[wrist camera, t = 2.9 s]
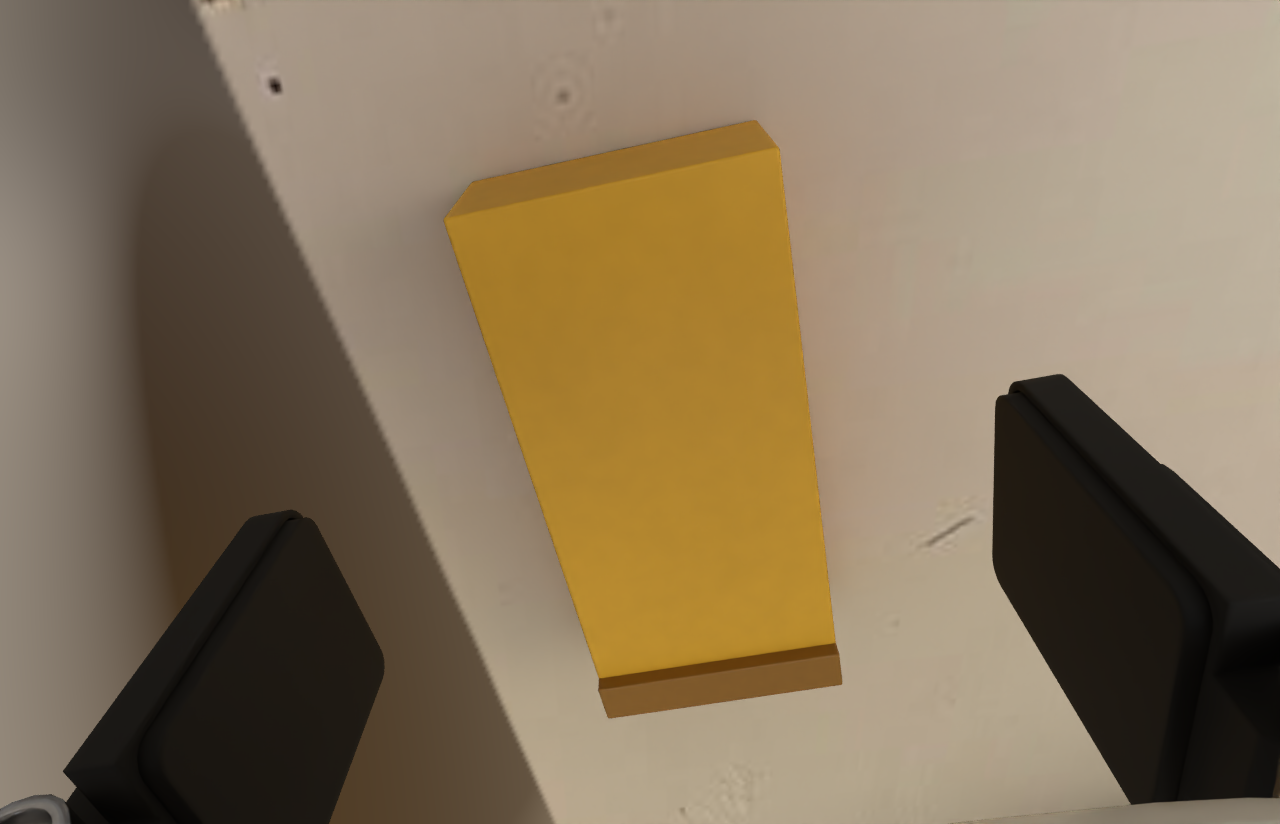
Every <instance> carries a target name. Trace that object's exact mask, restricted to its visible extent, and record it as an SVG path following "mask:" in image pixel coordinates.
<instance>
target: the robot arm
mask: <svg viewBox="0 0 1280 824" xmlns="http://www.w3.org/2000/svg"><path fill="white" fill-rule="evenodd" d="M992 557H993V565H994V570H995V573H996V576H997V579H998V581H999V583H1000V585H1001V587H1002V589H1003V590H1004V592H1005V594H1006V595H1007V597H1008V599H1009V600H1010V602H1011V604H1012V605H1013V607H1014V609H1015V611H1016V612H1017V614H1018V616H1019V617H1020V619H1021V621H1022V622H1023V624H1024V626H1025V627H1026V629H1027V631H1028V632H1029V634H1030V636H1031V637H1032V639H1033V641H1034V642H1035V644H1036V646H1037V647H1038V649H1039V651H1040V652H1041V654H1042V656H1043V658H1044V659H1045V661H1046V663H1047V664H1048V666H1049V668H1050V669H1051V671H1052V673H1053V674H1054V676H1055V678H1056V679H1057V681H1058V683H1059V684H1060V686H1061V688H1062V689H1063V691H1064V693H1065V694H1066V696H1067V698H1068V699H1069V701H1070V703H1071V704H1072V706H1073V708H1074V710H1075V711H1076V713H1077V715H1078V716H1079V718H1080V720H1081V721H1082V723H1083V725H1084V726H1085V728H1086V730H1087V731H1088V733H1089V735H1090V736H1091V738H1092V740H1093V741H1094V743H1095V745H1096V746H1097V748H1098V750H1099V751H1100V753H1101V755H1102V757H1103V758H1104V760H1105V762H1106V763H1107V765H1108V767H1109V768H1110V770H1111V772H1112V773H1113V775H1114V777H1115V778H1116V780H1117V782H1118V783H1119V785H1120V787H1121V788H1122V790H1123V792H1124V793H1125V795H1126V797H1127V798H1128V800H1129V802H1130V803H1131V805H1127V806H1117V807H1106V808H1096V809H1086V810H1076V811H1066V812H1056V813H1046V814H1036V815H1025V816H1015V817H1005V818H995V819H985V820H976V821H968V822H959V823H950V824H1280V569H1279V568H1278V567H1277V566H1276V565H1275V564H1274V563H1273V562H1272V561H1271V560H1270V559H1269V558H1267V557H1266V556H1265V555H1264V554H1263V553H1262V552H1261V551H1260V550H1259V549H1258V548H1257V547H1256V546H1254V545H1253V544H1252V543H1251V542H1250V541H1249V540H1248V539H1247V538H1246V537H1245V536H1244V535H1242V534H1241V533H1240V532H1239V531H1238V530H1237V529H1236V528H1235V527H1234V526H1233V525H1232V524H1230V523H1229V522H1228V521H1227V520H1226V519H1225V518H1224V517H1223V516H1222V515H1221V514H1220V513H1218V512H1217V511H1216V510H1215V509H1214V508H1213V507H1212V506H1211V505H1210V504H1209V503H1208V502H1207V501H1205V500H1204V499H1203V498H1202V497H1201V496H1200V495H1199V494H1198V493H1197V492H1196V491H1195V490H1193V489H1192V488H1191V487H1190V486H1189V485H1188V484H1187V483H1186V482H1185V481H1184V480H1183V479H1181V478H1180V477H1179V476H1178V475H1177V474H1176V473H1175V472H1174V471H1172V470H1171V469H1169V468H1168V467H1166V466H1165V465H1164V464H1160V463H1159V462H1158V461H1157V460H1156V459H1155V458H1153V457H1152V456H1151V455H1150V454H1149V453H1148V452H1147V451H1146V450H1145V449H1144V448H1143V447H1142V446H1141V445H1139V444H1138V443H1137V442H1136V441H1135V440H1134V439H1133V438H1132V437H1131V436H1130V435H1129V434H1128V433H1127V432H1125V431H1124V430H1123V429H1122V428H1121V427H1120V426H1119V425H1118V424H1117V423H1116V422H1115V421H1114V420H1112V419H1111V418H1110V417H1109V416H1108V415H1107V414H1106V413H1105V412H1104V411H1103V410H1102V409H1101V408H1100V407H1098V406H1097V405H1096V404H1095V403H1094V402H1093V401H1092V400H1091V399H1090V398H1089V397H1088V396H1087V395H1086V394H1084V393H1083V392H1082V391H1081V390H1080V389H1079V388H1078V387H1077V386H1076V385H1075V384H1074V383H1073V382H1072V381H1070V380H1069V379H1068V378H1067V377H1066V376H1064V375H1062V374H1056V375H1050V376H1045V377H1039V378H1033V379H1028V380H1022V381H1017V382H1014V383H1012V384H1011V386H1010V389H1009V392H1008V394H1007V395H1002V396H999V397H998V398H997V400H996V406H995V446H994V497H993V548H992ZM383 675H384V657H383V653H382V651H381V649H380V647H379V645H378V643H377V641H376V639H375V637H374V635H373V633H372V631H371V629H370V627H369V625H368V623H367V622H366V620H365V618H364V616H363V614H362V612H361V610H360V608H359V606H358V604H357V602H356V600H355V599H354V596H353V594H352V593H351V591H350V589H349V587H348V585H347V583H346V581H345V579H344V577H343V575H342V573H341V571H340V569H339V567H338V565H337V564H336V562H335V560H334V558H333V556H332V554H331V552H330V550H329V548H328V546H327V544H326V542H325V540H324V538H323V537H322V535H321V533H320V531H319V529H318V527H317V525H316V524H315V522H314V521H313V520H312V519H310V518H303V516H302V515H301V514H300V513H298V512H297V511H294V510H287V511H281V512H276V513H270V514H264V515H258V516H254V517H251V518H250V519H248V520H247V521H246V522H245V524H244V525H243V526H242V528H241V529H240V530H239V532H238V533H237V534H236V536H235V537H234V539H233V540H232V541H231V543H230V544H229V545H228V547H227V548H226V549H225V551H224V552H223V554H222V555H221V556H220V558H219V559H218V560H217V562H216V563H215V564H214V566H213V567H212V569H211V570H210V571H209V573H208V574H207V576H206V577H205V578H204V580H203V581H202V582H201V584H200V585H199V586H198V588H197V589H196V590H195V592H194V593H193V595H192V596H191V597H190V599H189V600H188V601H187V603H186V604H185V605H184V607H183V608H182V609H181V611H180V612H179V614H178V615H177V616H176V618H175V619H174V620H173V622H172V623H171V624H170V626H169V627H168V629H167V630H166V631H165V633H164V634H163V635H162V637H161V638H160V639H159V641H158V642H157V644H156V645H155V646H154V648H153V649H152V650H151V652H150V653H149V655H148V656H147V657H146V659H145V660H144V661H143V663H142V664H141V665H140V667H139V668H138V669H137V671H136V672H135V674H134V675H133V676H132V678H131V679H130V681H129V682H128V683H127V685H126V686H125V687H124V689H123V690H122V691H121V693H120V694H119V695H118V697H117V698H116V699H115V701H114V702H113V704H112V705H111V706H110V708H109V709H108V710H107V712H106V713H105V715H104V716H103V717H102V719H101V720H100V721H99V723H98V724H97V725H96V727H95V728H94V730H93V731H92V732H91V734H90V735H89V736H88V738H87V739H86V740H85V742H84V743H83V745H82V746H81V747H80V749H79V750H78V752H77V753H76V754H75V755H74V757H73V758H72V760H71V761H70V762H69V764H68V765H67V766H66V768H65V769H64V770H63V772H64V773H65V775H66V776H67V777H68V778H69V779H70V780H71V781H72V782H73V783H74V785H76V787H77V788H76V789H75V791H74V792H73V793H72V795H71V796H70V798H69V799H68V800H67V802H65V801H64V800H63V799H61V798H58V797H56V796H54V795H52V794H49V795H34V796H31V797H27V798H25V799H21V800H18V801H15V802H12V803H10V804H8V805H6V806H5V807H3V808H1V809H0V824H329V822H330V819H331V816H332V813H333V811H334V808H335V805H336V803H337V800H338V798H339V795H340V792H341V789H342V787H343V784H344V781H345V779H346V776H347V773H348V771H349V768H350V765H351V763H352V760H353V757H354V754H355V752H356V749H357V746H358V743H359V741H360V738H361V735H362V733H363V730H364V728H365V725H366V722H367V719H368V716H369V714H370V711H371V709H372V706H373V703H374V700H375V697H376V695H377V692H378V690H379V687H380V684H381V682H382V679H383Z"/></svg>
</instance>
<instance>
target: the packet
mask: <svg viewBox="0 0 1280 824" xmlns="http://www.w3.org/2000/svg"><path fill="white" fill-rule="evenodd" d="M444 224H445V227H446V230H447V233H448V236H449V239H450V241H451V244H452V247H453V250H454V253H455V256H456V259H457V262H458V265H459V268H460V271H461V274H462V277H463V280H464V283H465V286H466V289H467V291H468V294H469V297H470V300H471V303H472V306H473V309H474V312H475V315H476V318H477V321H478V324H479V327H480V330H481V333H482V336H483V339H484V341H485V344H486V347H487V350H488V353H489V356H490V359H491V362H492V365H493V368H494V371H495V374H496V377H497V380H498V383H499V386H500V389H501V391H502V394H503V397H504V400H505V403H506V406H507V409H508V412H509V415H510V418H511V421H512V424H513V427H514V430H515V433H516V436H517V439H518V442H519V444H520V447H521V450H522V453H523V456H524V459H525V462H526V465H527V468H528V471H529V474H530V477H531V480H532V483H533V486H534V489H535V492H536V494H537V497H538V500H539V503H540V506H541V509H542V512H543V515H544V518H545V521H546V524H547V527H548V530H549V533H550V536H551V539H552V542H553V544H554V547H555V550H556V553H557V556H558V559H559V562H560V565H561V568H562V571H563V574H564V577H565V580H566V583H567V586H568V589H569V592H570V594H571V597H572V600H573V603H574V606H575V609H576V612H577V615H578V618H579V621H580V624H581V627H582V630H583V633H584V636H585V639H586V642H587V645H588V647H589V650H590V653H591V656H592V659H593V662H594V665H595V668H596V671H597V674H598V677H599V688H598V691H599V694H600V696H601V699H602V702H603V705H604V708H605V711H606V714H607V717H608V718H616V717H623V716H630V715H637V714H644V713H651V712H658V711H664V710H671V709H678V708H685V707H692V706H699V705H706V704H712V703H719V702H726V701H733V700H740V699H747V698H754V697H761V696H767V695H774V694H781V693H788V692H795V691H802V690H809V689H815V688H822V687H829V686H836V685H841V684H842V675H841V666H840V657H839V652H838V649H837V645H836V641H835V633H834V624H833V615H832V606H831V597H830V589H829V580H828V571H827V562H826V553H825V545H824V536H823V527H822V518H821V509H820V501H819V492H818V483H817V474H816V465H815V457H814V448H813V439H812V430H811V422H810V413H809V404H808V395H807V386H806V378H805V369H804V360H803V351H802V342H801V334H800V325H799V316H798V307H797V298H796V290H795V281H794V272H793V263H792V254H791V246H790V237H789V228H788V219H787V211H786V202H785V193H784V184H783V175H782V167H781V158H780V149H779V148H778V146H777V145H776V144H775V143H774V141H773V140H772V139H771V138H770V136H769V135H768V134H767V133H766V132H765V130H764V129H763V128H762V127H761V125H760V124H759V123H758V122H757V121H756V120H753V121H749V122H744V123H740V124H735V125H730V126H726V127H721V128H717V129H712V130H708V131H703V132H698V133H694V134H689V135H685V136H680V137H676V138H671V139H666V140H662V141H657V142H653V143H648V144H644V145H639V146H634V147H630V148H625V149H621V150H616V151H611V152H607V153H602V154H598V155H593V156H589V157H584V158H579V159H575V160H570V161H566V162H561V163H557V164H552V165H547V166H543V167H538V168H534V169H529V170H525V171H520V172H515V173H511V174H506V175H502V176H497V177H493V178H488V179H483V180H479V181H474V182H472V183H471V184H470V185H469V187H468V188H467V189H466V191H465V192H464V193H463V194H462V196H461V197H460V198H459V200H458V201H457V202H456V204H455V205H454V206H453V207H452V209H451V210H450V211H449V213H448V214H447V215H446V217H445V218H444Z"/></svg>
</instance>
